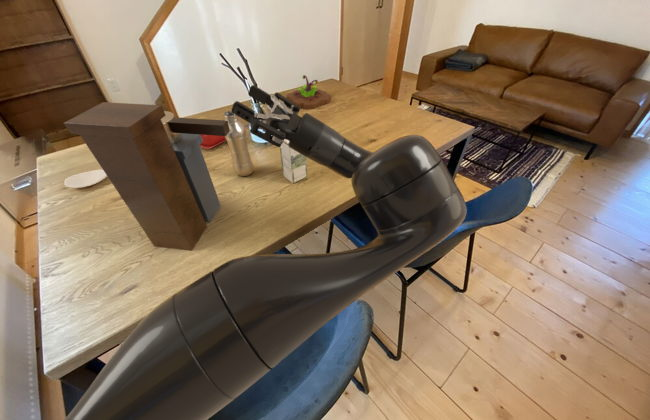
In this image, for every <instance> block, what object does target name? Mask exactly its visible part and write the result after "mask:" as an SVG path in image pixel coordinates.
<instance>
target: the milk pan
mask: <svg viewBox="0 0 650 420" xmlns="http://www.w3.org/2000/svg"><path fill="white" fill-rule="evenodd" d="M164 113H165V115H166V116H164V117H163V118H162V119H161V121H162V124H163V126H164V128H165V130H166V133H167V135H168V137H169V140H170V142H171V144H172V145H174V144H176V143H178V142H179V141H180V140H181V139H182V134H181V133H185V134H200V135H214V136H226V135H227V134H228V133H229V132H230V129H229V125H228V121H226V120H225V119H209V118H208V119H207V118H192V117H191V118H190V117H176V116H175V114H174V113H173V112H171V111H168V110H164Z"/></svg>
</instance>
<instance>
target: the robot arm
mask: <svg viewBox="0 0 650 420" xmlns="http://www.w3.org/2000/svg"><path fill="white" fill-rule="evenodd" d="M247 94H248V96H249V97H251V98H252V99H254V100H255V101H257V102H259V103H260V104H262V105H264V106H266V107H267V109H268V110H269V111H270V112H266V113H259V112H256V110H254V109H252V108H250V107H249V106H247V105H245V104H243V103H242V102H240V101H238V100H236V101H234V103H233V104H232V107H231V111H232V113H234V114H235V115H237V116H238V118H240V119H241V120H243V121H246V122H247V123H249V126H250V129H249V132H250V134H252V135H254V136H255V137H257V138H259V139H261V140H264V141H265V142H267V143H269V144H271V145H274V146H275V147H277V148H280V147H281V145H282V143H283V141H284V139H286V140H289V143H288V146H289V147H290V148H291V149H293V150H295V151H297V152H298V153H300V154H302V155H304V156H306V159H307V158H308V159H309V160H311V161H313V162H314V163H316V164H319V165H321V166H324V167H325V168H328V169H329V170H331V171H333V172H335V173H336V174H338V175H340V176H342V177H344V178H345V179H351V186H352V187H351V188H352V190H353V192H354V195H355V196H356V199H357V201H358V202H359V204H360V205H361V208H362V209H363V210H364V212H365V215H366V216H367V217H368V219H369V221H370V222H371V224H372V225H373V227H374V229H375V230H376V232H377V236H376V237H375V238H373V240H371V241H369V243H366V244H364V245H362V246H361V245H360V246H358V247H357V248H353V249H348V250H344V251H336V252H335V251H334V252H326V253H310V254H309V253H308V254H307V253H271V254H269V253H268V254H253V255H246V256H240V257H237V258H233V259H230V260H228V261H225V262H224V263H222V264H221V265H219V266H218V267H216V268H214V269H213V270H211V271H209V272H208V273H206V274H204V275H203V276H201V277H200V278H198V279H196V280H195V281H193V282H192V283H190V284H188V285H187V286H185V287H183V288H182V289H180V290H179V291H177V292H175V293H174V294H173V295H170V296H169V297H167V298H166V299H165V300H163V301H162V302H160V303H159V304H158V305H156V306H155V307H154V308H153V309H152V310H151V311H149V313H148V314H147V315H146V316H145V317H144V318H143V319H142V320H141V321H140V322H139V323H138V324H137V325H136V327H135V328H134V329H133V330H132V331H131V332H130V333H129V335H128V336H127V337H126V339H125V340H124V341H123V342H122V343H121V344H120V346H119V347H118V348H117V350H116V351H115V352H114V353H113V354H112V356H111V357H110V358H109V360H108V361H107V362H106V364H105V365H104V366H103V368H101V370H100V372H98V374H97V375H96V377H95V378H94V380H93V381H92V383H90V384H89V387H88V388H87V390H86V391H85V392H84V393H83V395H82V396H81V397H80V399H79V400H78V401H77V403H76V404H75V405H74V407H73V408H72V410H71V411H69V414H67V416H66V417H65V418H64V420H209V419H210V418H212V417H213V416H215V414H217V413H218V412H219V411H221V410H222V409H224V408H225V407H226V406H228V405H229V404H231V402H233V401H234V400H236V398H238V397H240V395H242V394H243V393H244V392H246V391H247V390H248V389H249V388H251V387H252V386H253V385H254V384H256V383H257V382H258V381H260V379H262V378H263V377H264V376H265V375H267V374H269V372H270V371H272V369H274V368H275V367H277V366H278V365H279V364H280V363H282V362H283V361H284V360H285V359H286V358H288V356H290V355H291V354H292V353H293V352H294V351H295V350H297V349H298V348H300V346H302V345H303V343H305V342H306V341H307V340H309V339H310V338H311V337H312V336H313V335H314V334H315V333H317V332H319V330H320V329H322V328H323V327H324V326H326V325H327V324H328V323H329V322H330V321H331V320H332V319H334V318H335V317H336V316H338V315H339V314H340V313H342V312H343V311H344V310H345V309H346V308H348V307H350V305H352V304H353V303H354V302H356V301H357V300H358V299H360V298H361V297H362V296H364V295H365V294H367V293H368V292H370V291H371V290H372V289H373V288H375V287H377V286H378V285H380V284H381V283H382V282H384V281H385V280H387V279H389V278H390V277H391V276H393V275H394V274H396V273H397V272H399V271H400V270H402V269H404V268H405V267H406V266H409V264H411V263H412V262H414V261H415V260H417V259H419V258H420V257H421V256H422V255H424V254H426V253H427V252H429V251H430V250H431V249H433V248H435V247H436V246H437V245H439V244H440V243H441V242H443V241H444V240H445V239H447V238H448V237H449V236H450V235H451V234H453V233H454V232H455V231H456V230H457V229H458V228H459V227H460V226H461V225H462V224H463V222H464V220H465V219H466V217H467V214H468V209H467V208H468V207H467V203H466V201H465V198H464V196H463V194H462V192H461V190H460V189H459V187H458V185H457V183H456V181H455V180H454V178H453V176H452V174H451V173H450V171H449V169H448V167H447V166H446V164H445V163H444V160H443V159H442V156H441V155H440V154H439V152H438V151H437V149H436V148H435V146H434V145H433V143H431V142H430V141H429V140H428V139H427V138H426V137H424V136H422V135H418V134H409V135H408V134H407V135H404V136H400V137H399V138H396V139H394V140H391V141H390V142H388V143H385V144H384V145H383V146H381V147H379V148H378V149H376V150H375V151H370V150H368V149H365V148H364V147H361V146H359V145H358V144H356V143H355V142H353V141H351V140H350V139H348V138H346V137H344V136H343V135H342V134H341V133H339V132H338V131H337V130H336V129H334V128H332V127H330V126H329V125H327V124H326V123H324V122H323V121H321V120H319V119H317V117H314V116H313V115H311V114H310V113H308V112H305V113H303V115H302V116H300V115H299V113H300V111H301V109H302V108H300V107H299V106H298V105H296V104H294V103H293V102H291V101H290V100H288V99H287V97H285V96H283V95H282V94H281V93H279V92H277V91H276V92H275V93H274V94H273V93H270V94H269V93H268V92H266V91H265V90H263V89H261V88H260V87H258V86H256V85H255V84H252V85H251V86H250V87H249V90H248V93H247ZM260 130H262V131H260Z"/></svg>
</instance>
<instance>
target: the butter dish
mask: <svg viewBox="0 0 650 420" xmlns="http://www.w3.org/2000/svg"><path fill="white" fill-rule="evenodd" d="M201 137H202V140H203V142H202V143H201V144H200V145H199V146H200V148H204V149H206V150H210V149H213V148H214V147H216V146H218V145H220V144H223V143H224V142H227V141H226V138H225V136H214V135H201Z"/></svg>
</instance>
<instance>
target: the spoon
mask: <svg viewBox="0 0 650 420" xmlns="http://www.w3.org/2000/svg"><path fill="white" fill-rule="evenodd" d="M106 178H108V176H107V175H106V173H105V172H104V170H103V169H102V168H100V169H93V170H89V171H84V172H80V173H77V174H73V175H70V176H68V177H67V178H65V180H64V181H63V184H64V186H65V187H66V188H70V189H80V188H81V189H83V188H88V187H90V186H94V185H97V184H98V183H100V182H102V181H103V180H105V179H106Z"/></svg>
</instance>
